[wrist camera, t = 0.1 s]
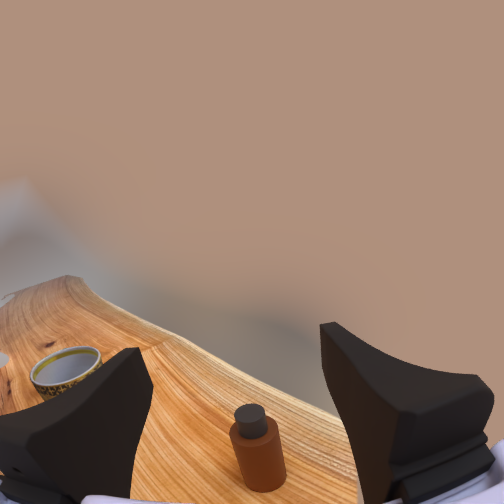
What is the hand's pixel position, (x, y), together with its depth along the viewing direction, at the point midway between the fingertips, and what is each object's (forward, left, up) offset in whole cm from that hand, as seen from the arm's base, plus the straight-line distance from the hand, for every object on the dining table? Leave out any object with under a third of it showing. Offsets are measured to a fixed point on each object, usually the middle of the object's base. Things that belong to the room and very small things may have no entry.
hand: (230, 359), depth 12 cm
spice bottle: (+9, +1, -19) cm, 21 cm away
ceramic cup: (+19, +24, -20) cm, 36 cm away
